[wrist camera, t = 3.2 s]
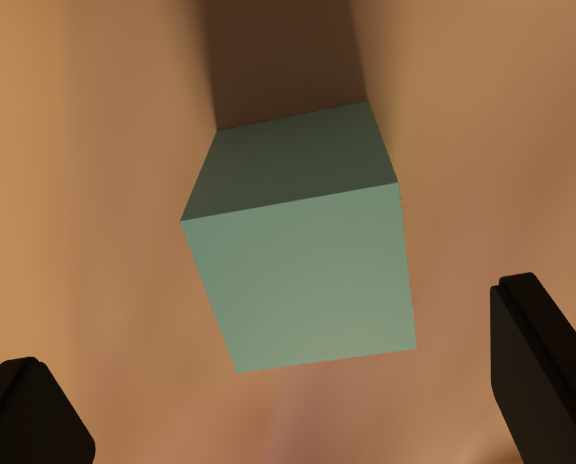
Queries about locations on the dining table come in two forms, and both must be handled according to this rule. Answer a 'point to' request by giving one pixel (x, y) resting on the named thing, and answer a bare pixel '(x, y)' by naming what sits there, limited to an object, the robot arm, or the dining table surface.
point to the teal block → (302, 240)
